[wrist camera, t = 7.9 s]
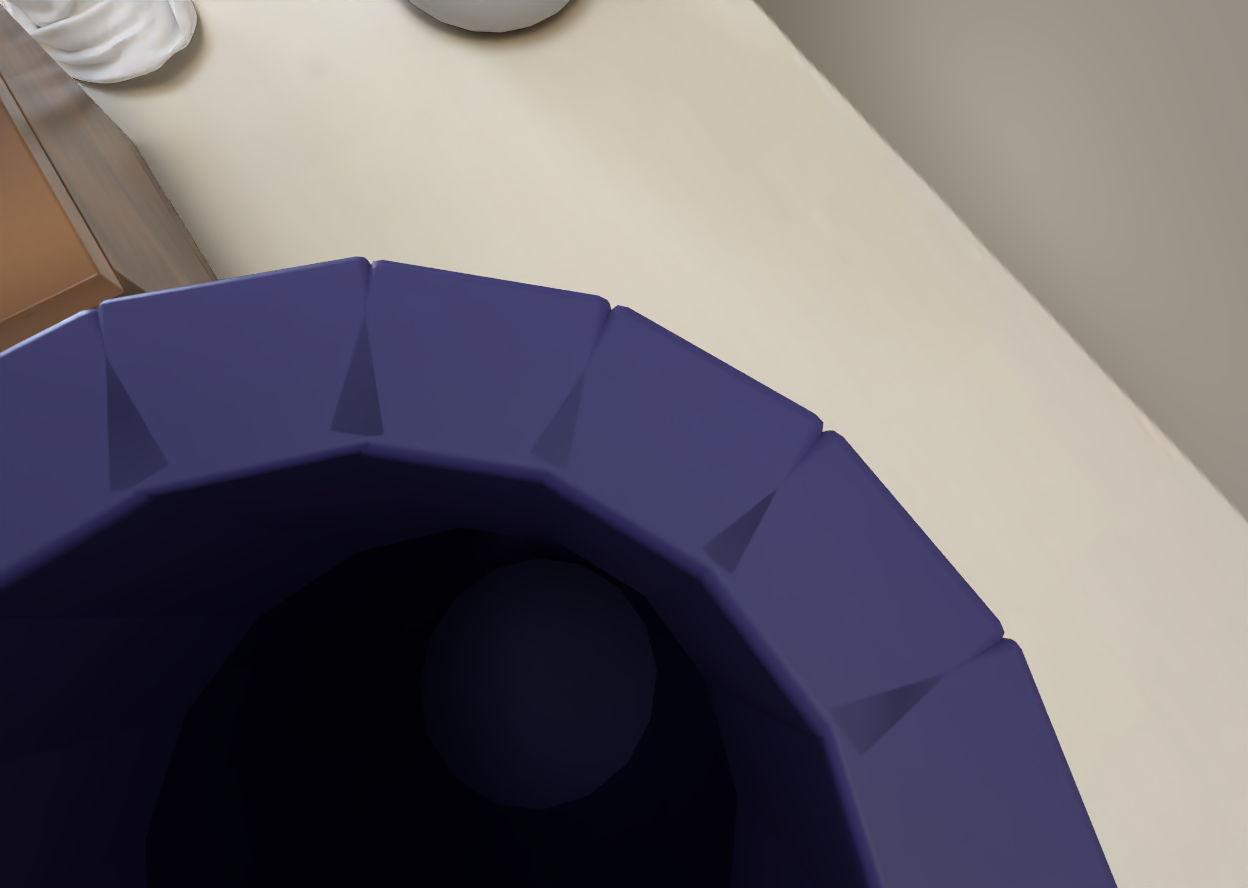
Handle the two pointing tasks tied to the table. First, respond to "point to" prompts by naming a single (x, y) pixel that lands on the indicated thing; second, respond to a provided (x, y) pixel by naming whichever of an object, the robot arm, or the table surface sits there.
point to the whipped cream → (107, 34)
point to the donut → (491, 13)
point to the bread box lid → (41, 239)
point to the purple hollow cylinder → (480, 612)
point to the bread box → (100, 171)
